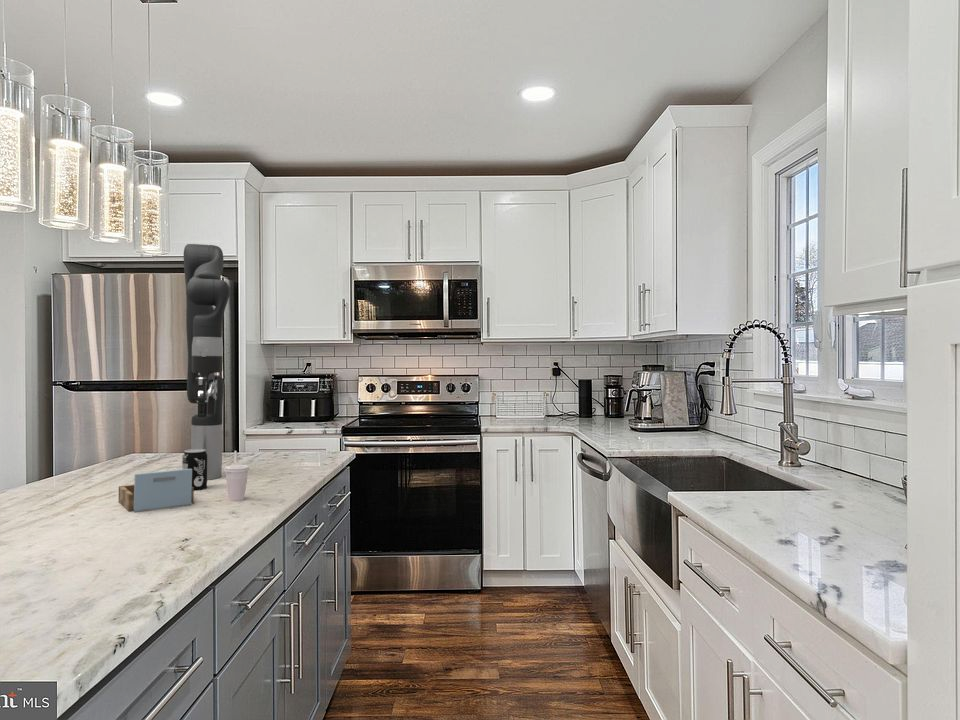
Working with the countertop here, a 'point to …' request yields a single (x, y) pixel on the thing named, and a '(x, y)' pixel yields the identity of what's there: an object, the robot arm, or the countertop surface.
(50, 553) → the countertop surface
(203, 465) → the beverage can
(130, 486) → the tray
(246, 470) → the smoothie
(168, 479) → the flat blue panel
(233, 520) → the countertop surface
